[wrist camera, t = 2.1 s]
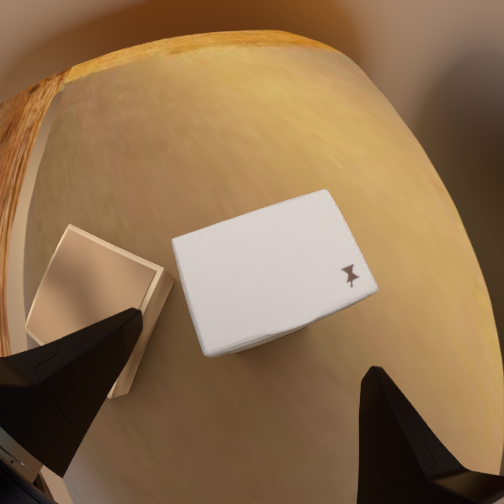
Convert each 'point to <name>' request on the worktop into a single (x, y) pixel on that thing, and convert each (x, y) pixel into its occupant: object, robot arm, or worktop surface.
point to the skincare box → (270, 273)
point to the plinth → (97, 293)
